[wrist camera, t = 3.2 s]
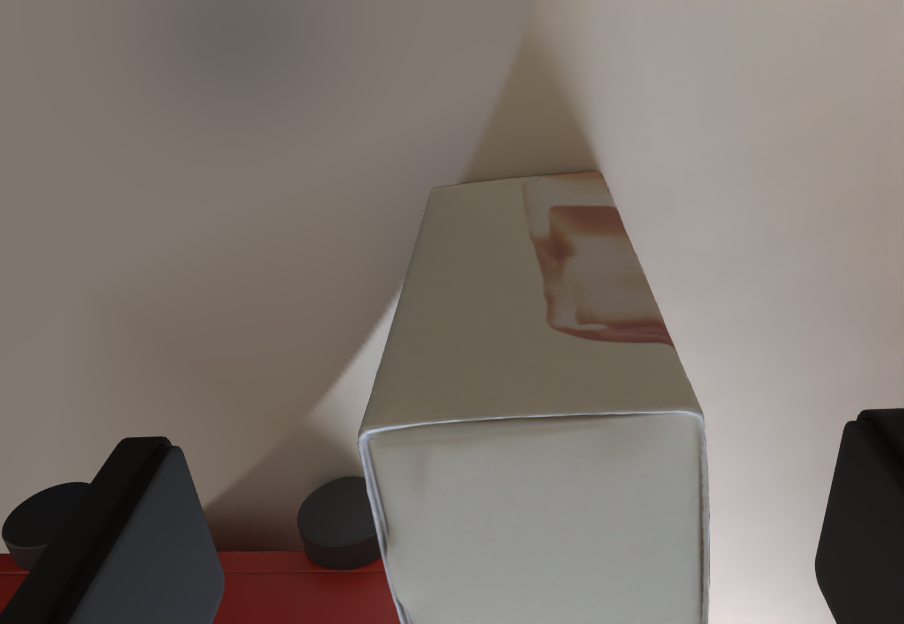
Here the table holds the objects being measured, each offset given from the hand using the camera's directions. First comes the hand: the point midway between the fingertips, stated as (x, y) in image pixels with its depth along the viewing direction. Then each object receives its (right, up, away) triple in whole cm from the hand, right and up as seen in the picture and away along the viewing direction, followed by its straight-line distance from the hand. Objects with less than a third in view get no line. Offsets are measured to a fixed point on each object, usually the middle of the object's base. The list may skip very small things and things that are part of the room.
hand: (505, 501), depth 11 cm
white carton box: (+1, +4, +8) cm, 9 cm away
